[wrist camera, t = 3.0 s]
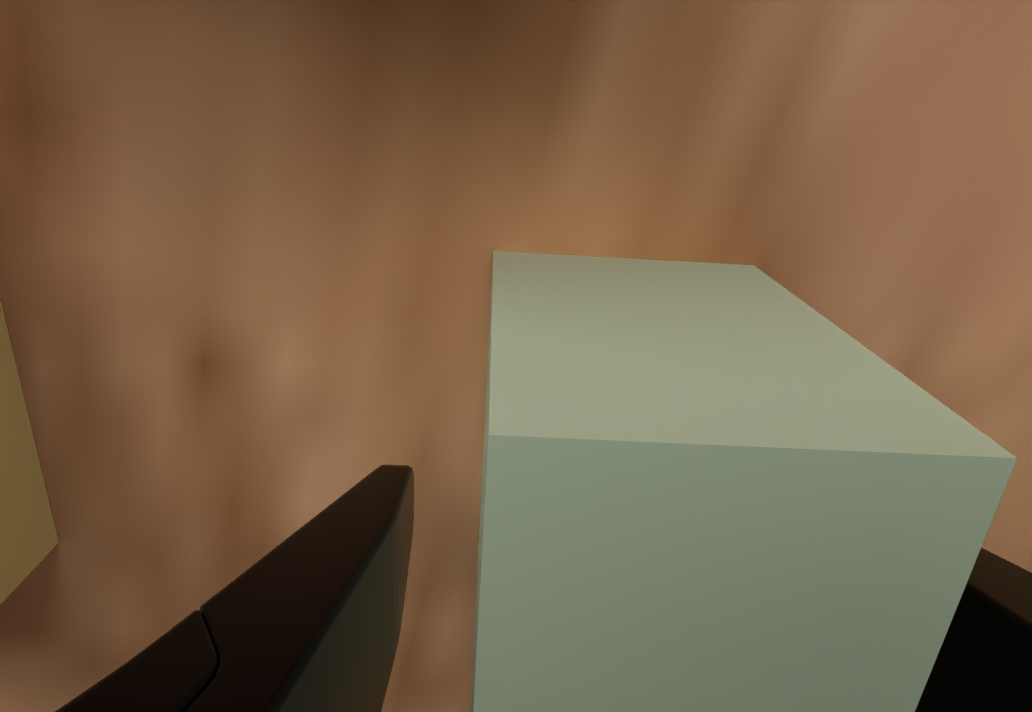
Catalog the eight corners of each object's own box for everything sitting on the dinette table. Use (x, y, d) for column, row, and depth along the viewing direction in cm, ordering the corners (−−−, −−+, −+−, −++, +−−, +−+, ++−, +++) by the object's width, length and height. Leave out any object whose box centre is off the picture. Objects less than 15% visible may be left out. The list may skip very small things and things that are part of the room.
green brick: (682, 610, 11) (808, 974, 7) (474, 602, 11) (458, 972, 7) (752, 264, 9) (1018, 457, 4) (493, 249, 9) (489, 434, 4)
